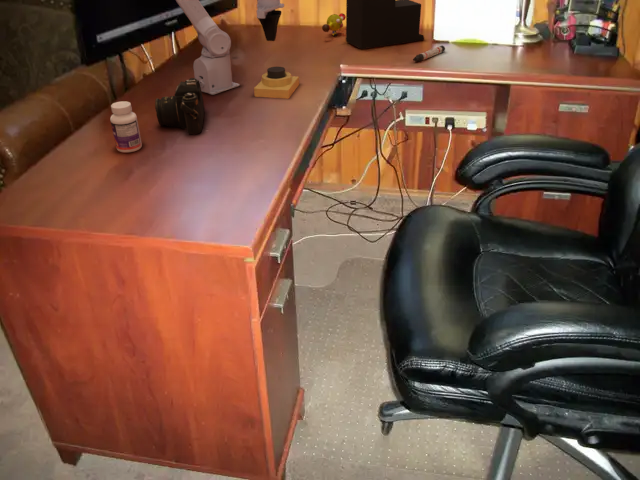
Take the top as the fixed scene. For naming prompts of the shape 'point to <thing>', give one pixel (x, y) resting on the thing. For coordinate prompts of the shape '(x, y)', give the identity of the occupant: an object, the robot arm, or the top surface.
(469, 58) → the top surface
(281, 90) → the plate
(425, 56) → the marker
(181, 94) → the film camera
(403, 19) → the bookend
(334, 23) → the toy figure
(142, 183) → the top surface
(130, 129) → the pill bottle
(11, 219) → the top surface
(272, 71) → the button
